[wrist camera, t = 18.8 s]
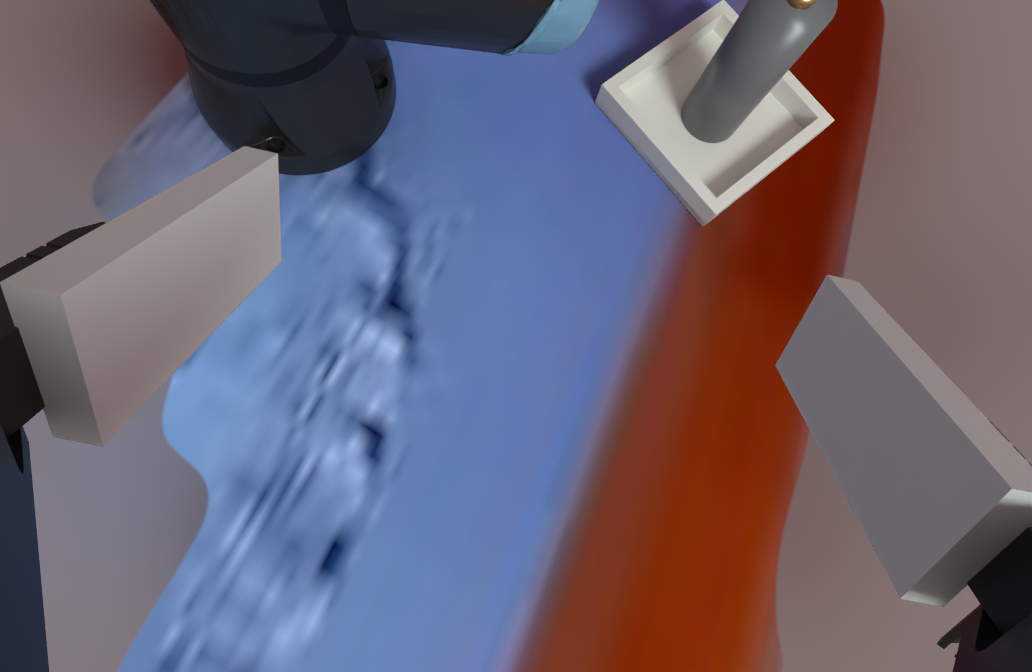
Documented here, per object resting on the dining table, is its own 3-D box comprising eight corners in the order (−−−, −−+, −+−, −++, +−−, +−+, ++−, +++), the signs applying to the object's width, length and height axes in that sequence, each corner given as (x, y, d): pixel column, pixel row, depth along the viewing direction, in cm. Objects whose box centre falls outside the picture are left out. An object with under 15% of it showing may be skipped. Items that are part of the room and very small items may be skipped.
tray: (594, 102, 48) (601, 84, 46) (711, 20, 51) (723, -1, 48) (702, 226, 47) (716, 214, 44) (816, 136, 50) (834, 120, 47)
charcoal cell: (669, 110, 48) (751, -24, 34) (710, 79, 49) (807, -63, 35) (707, 154, 48) (807, 35, 34) (749, 122, 48) (861, -6, 35)
